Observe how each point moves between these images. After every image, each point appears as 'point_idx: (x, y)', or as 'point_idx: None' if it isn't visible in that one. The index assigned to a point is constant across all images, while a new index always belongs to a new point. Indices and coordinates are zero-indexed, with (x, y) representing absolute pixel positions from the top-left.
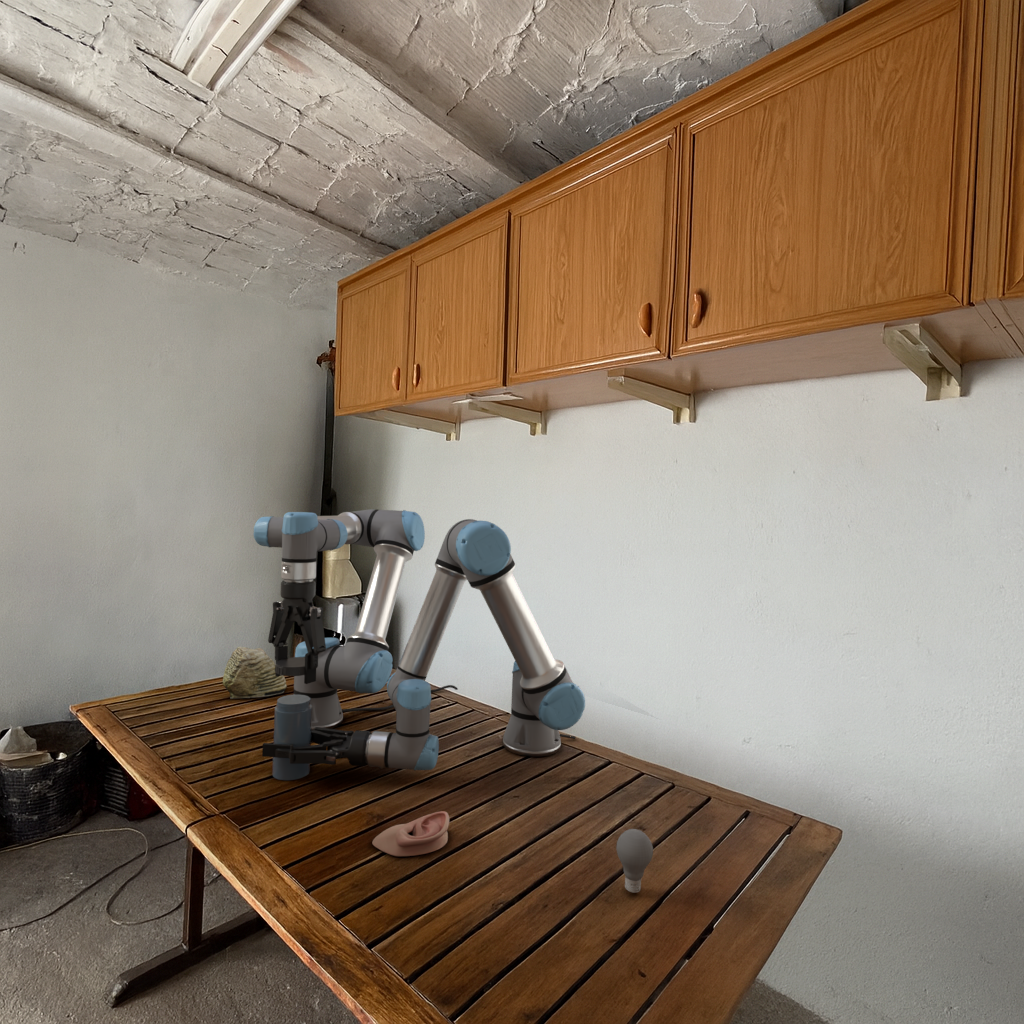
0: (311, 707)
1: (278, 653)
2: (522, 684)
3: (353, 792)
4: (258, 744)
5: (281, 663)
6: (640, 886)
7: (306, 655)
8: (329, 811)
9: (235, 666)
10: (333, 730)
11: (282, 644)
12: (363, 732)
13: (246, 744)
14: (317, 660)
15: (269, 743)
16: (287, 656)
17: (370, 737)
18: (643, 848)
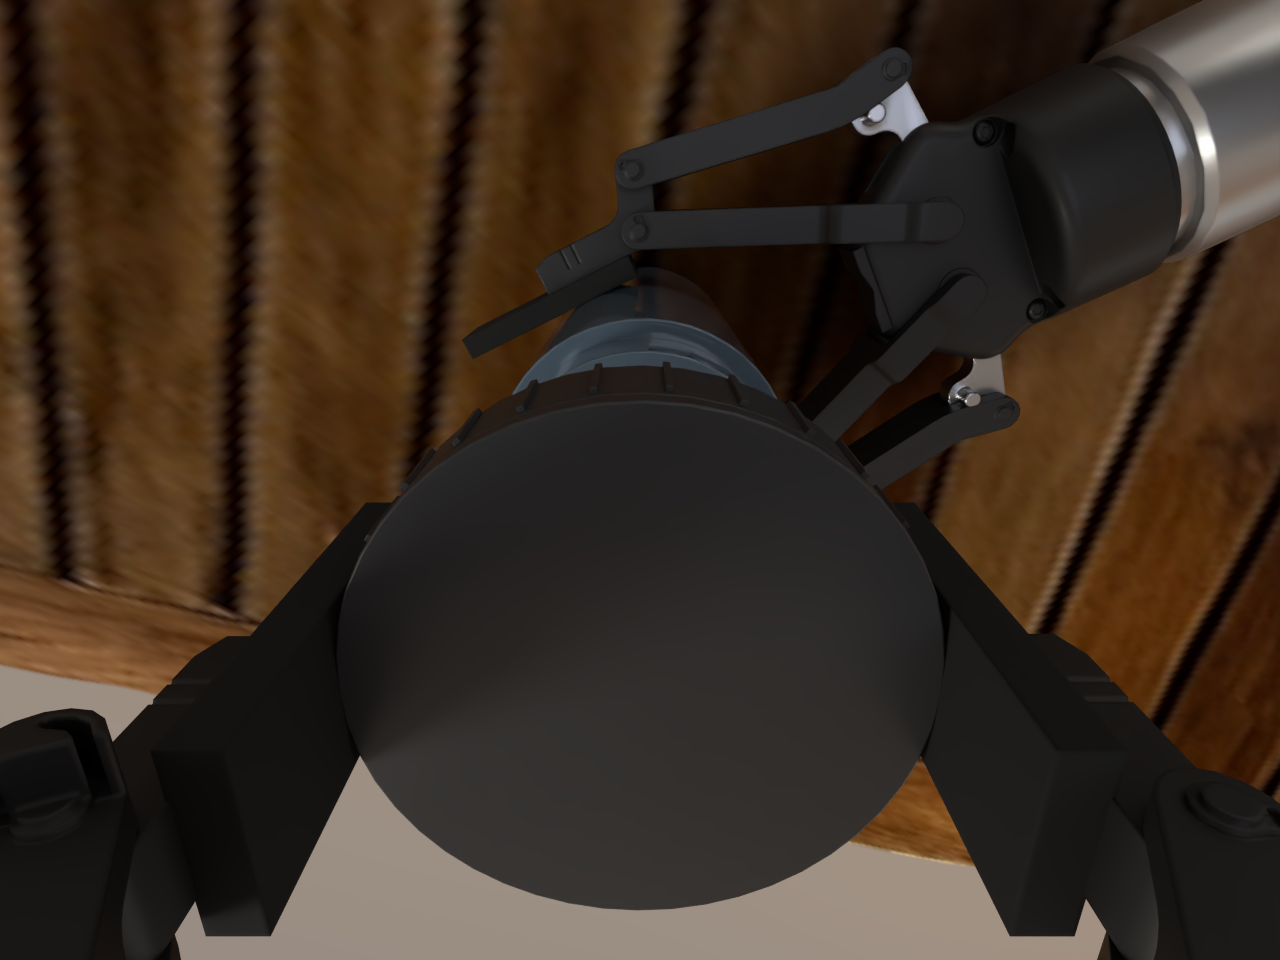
0: (772, 390)
1: (307, 848)
2: None
3: (1040, 339)
4: (197, 203)
5: (541, 838)
6: None
7: (1039, 922)
8: (1043, 514)
9: None
10: (765, 133)
11: (148, 863)
12: (1144, 196)
13: (152, 245)
14: (1139, 724)
15: None
16: (316, 624)
17: (1213, 211)
18: None
